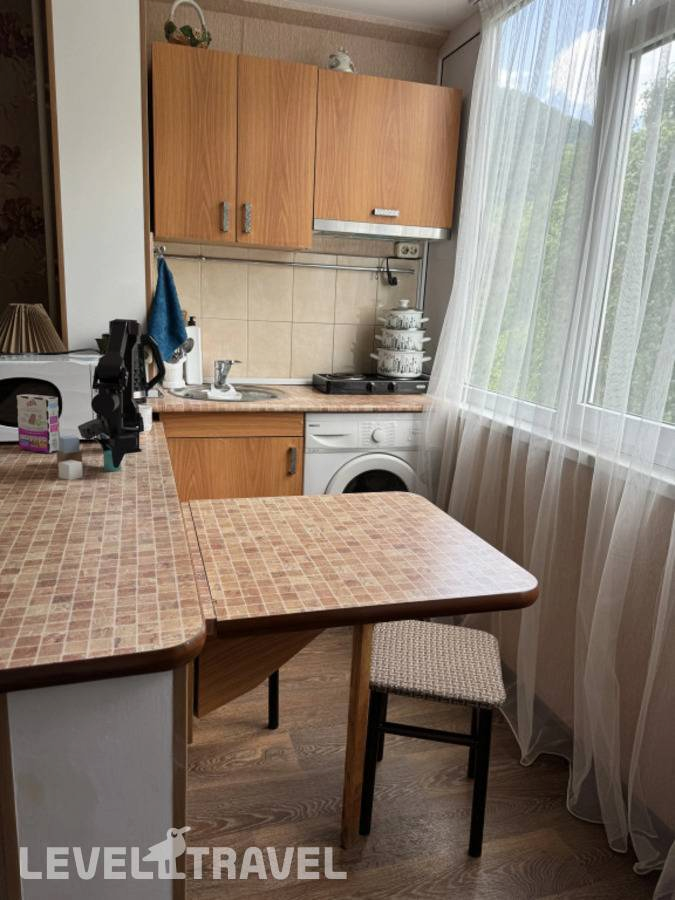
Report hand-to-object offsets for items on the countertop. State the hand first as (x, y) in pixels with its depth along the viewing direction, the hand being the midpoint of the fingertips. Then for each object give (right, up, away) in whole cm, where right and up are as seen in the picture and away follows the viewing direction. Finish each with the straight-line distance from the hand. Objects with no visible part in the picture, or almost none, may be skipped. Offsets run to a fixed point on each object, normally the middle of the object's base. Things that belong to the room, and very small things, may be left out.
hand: (112, 465), depth 175 cm
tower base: (-13, 0, +2) cm, 13 cm away
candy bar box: (-27, +4, +16) cm, 32 cm away
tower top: (-12, +4, +1) cm, 13 cm away
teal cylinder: (0, -1, 0) cm, 1 cm away
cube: (-8, -3, -9) cm, 12 cm away
